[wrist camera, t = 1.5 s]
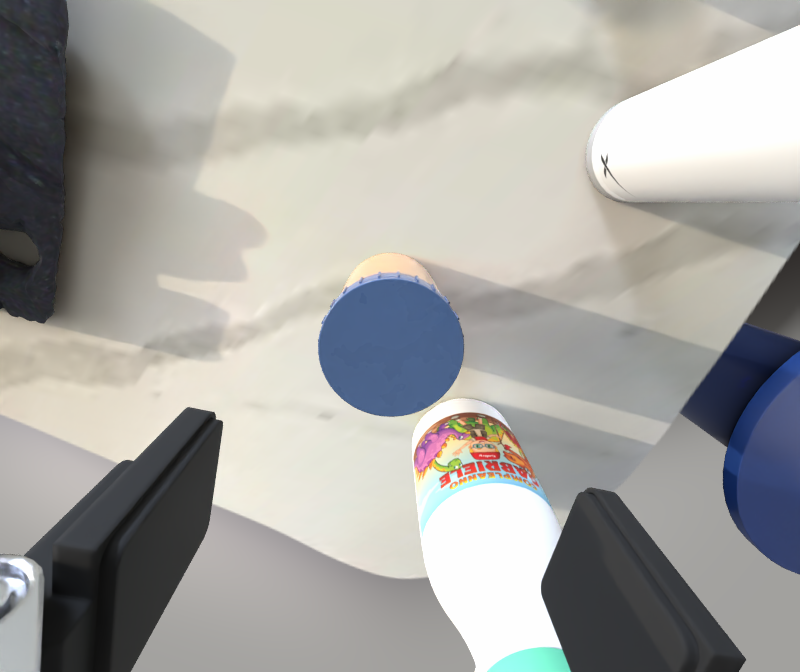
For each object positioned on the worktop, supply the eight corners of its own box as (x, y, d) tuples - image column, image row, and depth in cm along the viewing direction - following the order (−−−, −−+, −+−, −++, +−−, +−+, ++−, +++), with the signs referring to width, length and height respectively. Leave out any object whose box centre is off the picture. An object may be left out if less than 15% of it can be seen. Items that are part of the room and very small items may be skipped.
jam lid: (475, 288, 22) (483, 297, 20) (439, 412, 23) (443, 430, 22) (337, 256, 21) (332, 261, 19) (311, 385, 23) (304, 401, 21)
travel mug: (568, 194, 29) (910, 179, 10) (605, 86, 27) (1110, -185, 8) (654, 217, 30) (1132, 245, 11) (695, 113, 28) (1365, -79, 9)
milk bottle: (516, 470, 35) (668, 788, 16) (423, 491, 36) (463, 826, 17) (500, 384, 33) (653, 635, 14) (400, 407, 33) (417, 683, 14)
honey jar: (447, 265, 30) (477, 297, 20) (423, 353, 32) (439, 422, 22) (354, 242, 30) (336, 263, 20) (335, 333, 32) (310, 395, 21)
